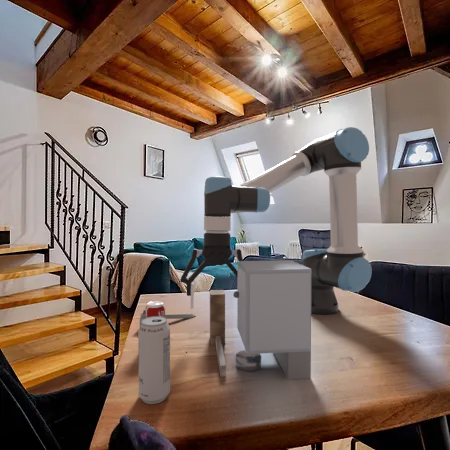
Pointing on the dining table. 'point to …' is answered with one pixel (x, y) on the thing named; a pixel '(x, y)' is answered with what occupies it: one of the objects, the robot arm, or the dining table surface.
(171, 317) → the caliper
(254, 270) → the cabinet
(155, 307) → the soda can
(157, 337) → the energy drink can
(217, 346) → the wooden mallet
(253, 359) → the disc
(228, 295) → the dining table surface
